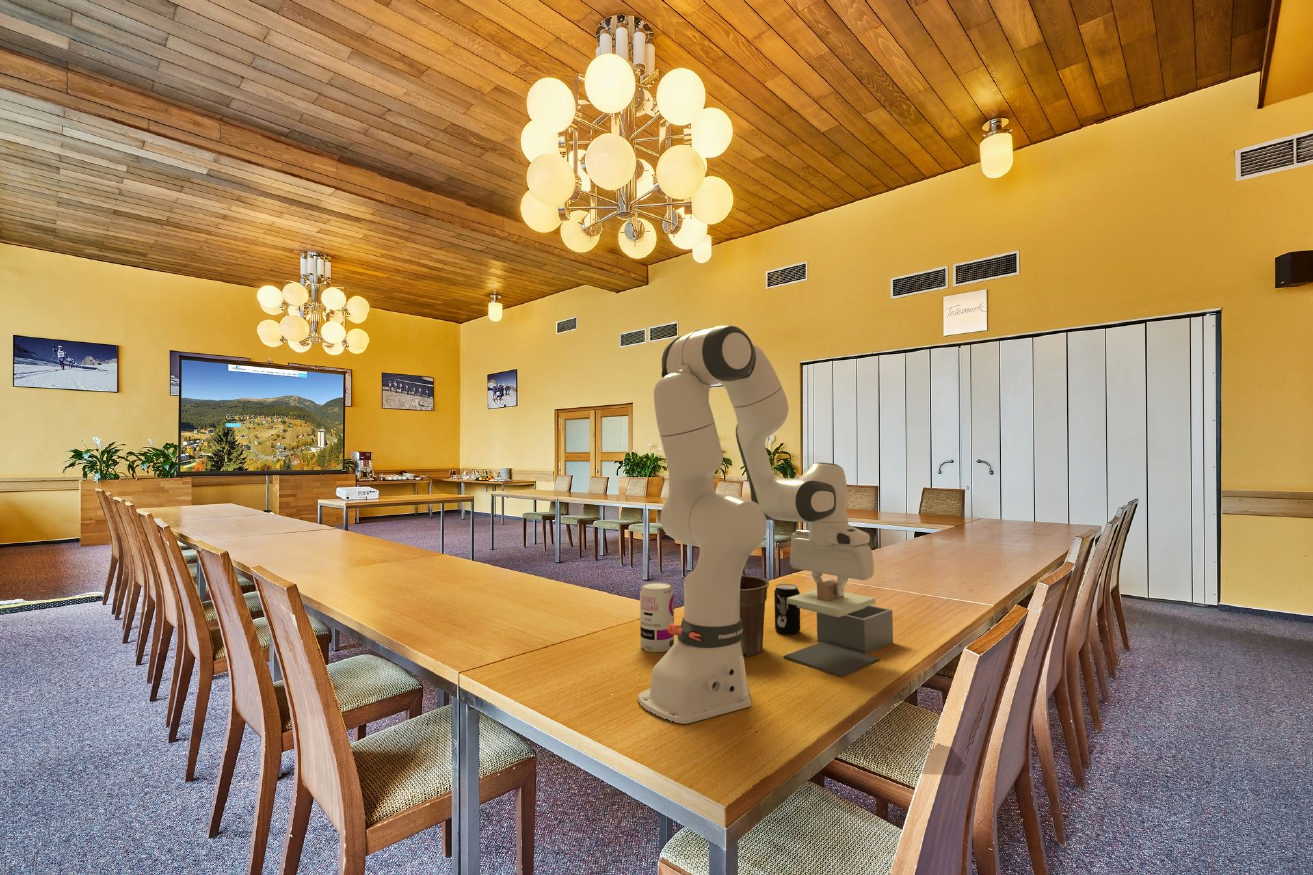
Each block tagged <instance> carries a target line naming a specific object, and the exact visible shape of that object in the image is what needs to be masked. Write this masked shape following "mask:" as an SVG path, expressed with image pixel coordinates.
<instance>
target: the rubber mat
mask: <svg viewBox="0 0 1313 875" xmlns="http://www.w3.org/2000/svg"><path fill="white" fill-rule="evenodd" d="M783 659H786V660H789V661H792V662H794V663H797V664H800V665H804V666H807V667H809V668H812V669H816V670H819V671H822V672H825V673H828V674H830V675H834V676H837V677H840V678H843V677H846V676H848V675H850V674H852V673H854V672H855V673H856V672H857V671H858V670H860V669H862V668H866V667H868V666H870V665H872V664H874V663H876V662H878V661H880V658H879V657H878V656H877V657H876V656H872V655H870V654H863V653H859V652H856V651H852V650H849V649H845V648H842V647H838V646H835V645H831V644H828V643H824V642H818V643H815V644H812V645H808V646H805V647H804V648H802V649H798V650H795V651H793V652H791V653H788V654H785V655H783Z"/></svg>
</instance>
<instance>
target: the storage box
mask: <svg viewBox="0 0 1313 875" xmlns="http://www.w3.org/2000/svg"><path fill="white" fill-rule="evenodd" d="M893 624H894V621H893V609H888V608H885V607H880V606H876V605H875V606H874V605H870V606H867V607H865V608H863V609H861V610H858V611H855V612H852V613H849V614H847V615H844V616H841V617H835V616H830V615H826V614H822V613H818V612H816V636H817V637H816V638H817V639H816V641H817V642H818V643H820V642H824V643H828V644H831V645H835V646H838V647H842V648H845V649H849V650H852V651H856V652H859V653H863V654H866V655H869V654H871V653H872V652H874V651H877V650H879V649H882V648H884V647H886V645H887V646H889V645H891V644H893V643H894V625H893Z"/></svg>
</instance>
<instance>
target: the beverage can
mask: <svg viewBox="0 0 1313 875" xmlns="http://www.w3.org/2000/svg"><path fill="white" fill-rule="evenodd" d="M798 588H799V587H798V585H795V584H793V583H779V584H776V585H775V589H774V591H773V593H774V594H773V597H774V629H775V631H776V632H777V633H778V634H780V635H785V636H794V635H798V634H799V633H800V631H801V608H797V605H793V604H788V603H787V598H788V597H792V596H795V595H799V594H801V592H800V591H799V589H798Z"/></svg>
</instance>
